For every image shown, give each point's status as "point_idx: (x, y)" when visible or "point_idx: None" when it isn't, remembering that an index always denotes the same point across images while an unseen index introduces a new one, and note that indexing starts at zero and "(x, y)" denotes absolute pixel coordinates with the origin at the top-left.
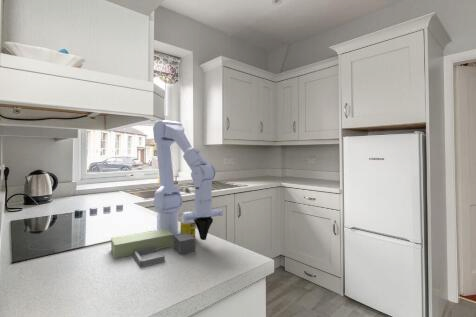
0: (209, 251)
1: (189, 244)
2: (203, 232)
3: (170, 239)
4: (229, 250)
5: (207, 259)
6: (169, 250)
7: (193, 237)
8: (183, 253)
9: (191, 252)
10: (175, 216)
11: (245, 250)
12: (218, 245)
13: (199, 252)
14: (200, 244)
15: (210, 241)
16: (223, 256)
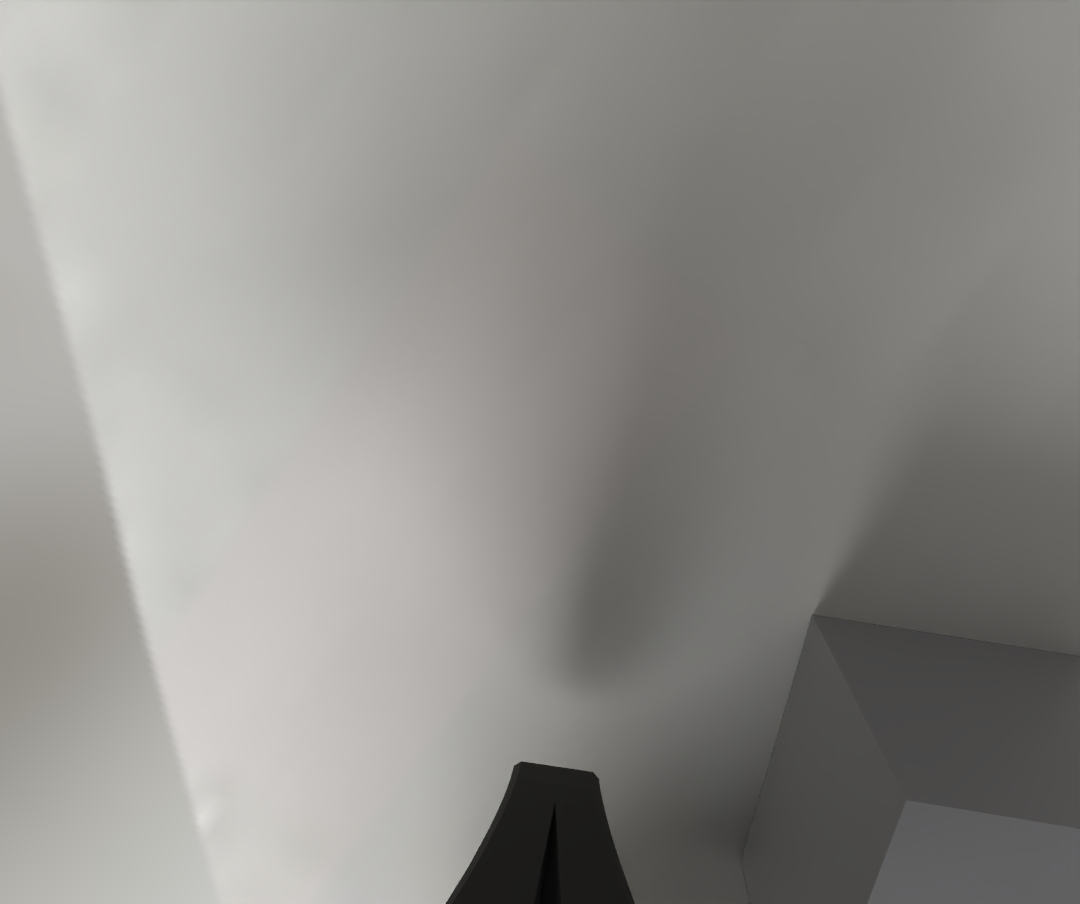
0: (614, 466)
1: (997, 735)
2: (597, 902)
3: None
4: (284, 260)
5: (879, 183)
6: None
7: (895, 863)
8: (1039, 657)
9: (880, 627)
10: None
11: (6, 38)
12: (332, 574)
13: (777, 543)
14: None
15: (353, 781)
16: (546, 90)
